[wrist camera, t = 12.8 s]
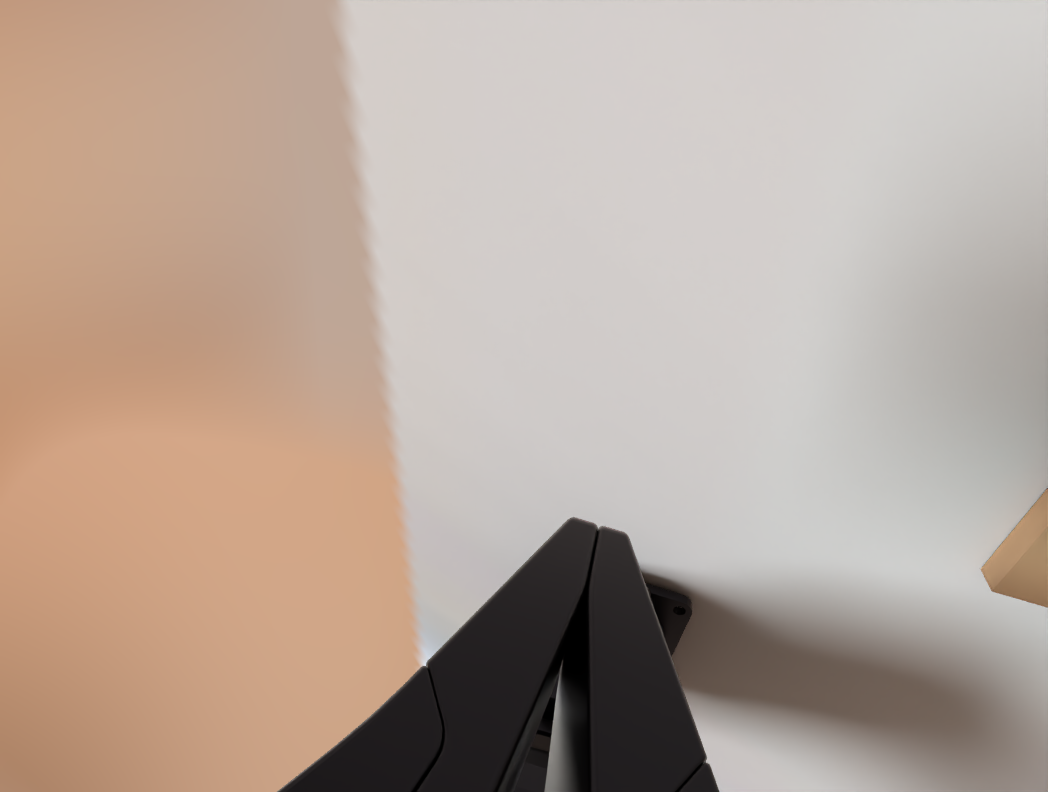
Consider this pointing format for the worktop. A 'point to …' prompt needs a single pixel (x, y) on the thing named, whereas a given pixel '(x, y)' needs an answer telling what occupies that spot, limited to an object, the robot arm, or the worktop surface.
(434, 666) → the robot arm
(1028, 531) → the tan base with block
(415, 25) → the worktop surface
